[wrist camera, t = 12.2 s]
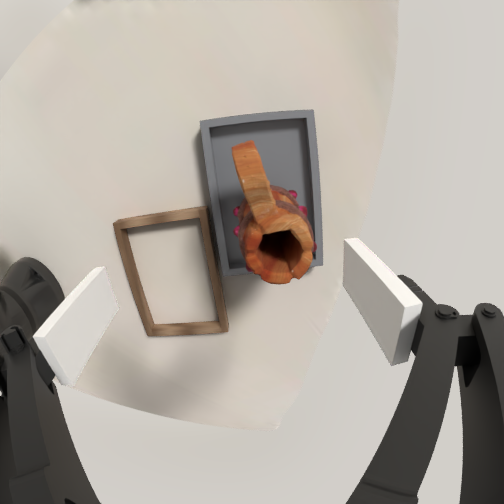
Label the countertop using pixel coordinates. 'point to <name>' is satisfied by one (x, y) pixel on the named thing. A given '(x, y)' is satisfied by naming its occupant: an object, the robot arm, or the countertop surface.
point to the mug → (270, 222)
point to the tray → (275, 166)
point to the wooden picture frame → (136, 283)
